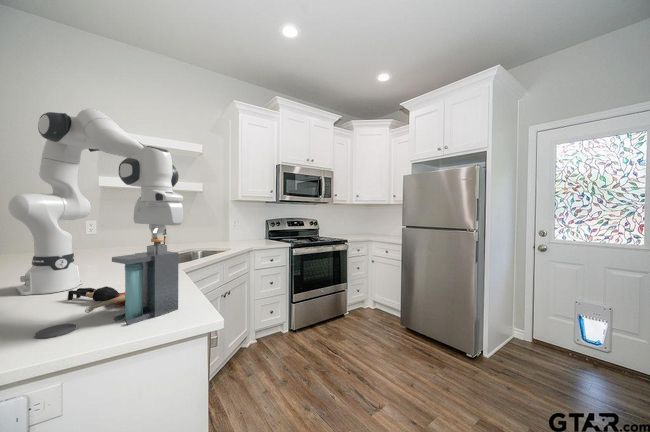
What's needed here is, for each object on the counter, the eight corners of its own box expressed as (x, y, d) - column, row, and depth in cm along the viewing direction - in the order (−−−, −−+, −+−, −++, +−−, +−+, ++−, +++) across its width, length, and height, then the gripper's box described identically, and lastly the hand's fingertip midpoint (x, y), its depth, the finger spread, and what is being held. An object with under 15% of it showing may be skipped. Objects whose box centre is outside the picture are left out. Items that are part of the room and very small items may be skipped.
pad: (29, 334, 72) (29, 332, 72) (67, 323, 79) (67, 321, 79) (43, 341, 69) (43, 339, 69) (82, 328, 76) (82, 326, 76)
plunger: (148, 251, 89) (148, 238, 89) (158, 250, 92) (158, 237, 92) (155, 252, 87) (155, 239, 87) (165, 251, 90) (165, 238, 90)
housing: (110, 320, 82) (109, 248, 81) (159, 304, 96) (159, 243, 95) (130, 326, 78) (129, 251, 77) (178, 309, 92) (178, 245, 91)
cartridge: (121, 319, 82) (121, 264, 82) (137, 314, 87) (137, 261, 86) (130, 322, 80) (130, 265, 80) (146, 317, 85) (146, 262, 84)
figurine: (23, 314, 86) (99, 324, 80) (23, 296, 86) (99, 305, 80) (111, 288, 114) (173, 294, 108) (111, 275, 114) (173, 281, 108)
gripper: (127, 196, 91) (127, 237, 91) (168, 195, 82) (168, 241, 82) (147, 196, 96) (147, 235, 97) (186, 196, 88) (186, 239, 88)
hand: (157, 238), depth 89 cm, fingers closed, pressing on plunger
